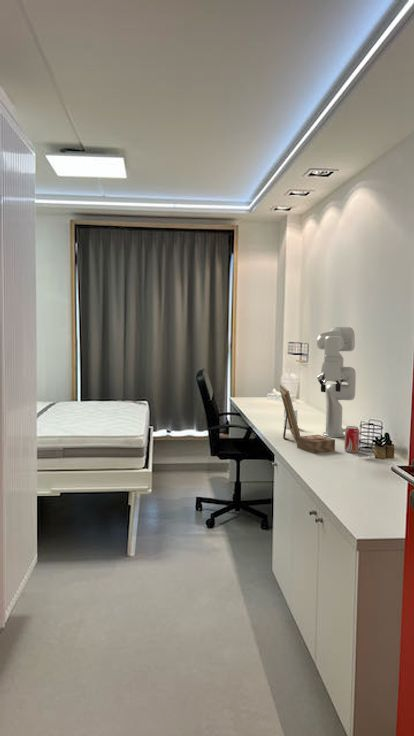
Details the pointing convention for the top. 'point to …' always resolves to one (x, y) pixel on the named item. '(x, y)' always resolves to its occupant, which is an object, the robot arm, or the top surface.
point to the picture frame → (289, 413)
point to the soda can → (351, 439)
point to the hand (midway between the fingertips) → (330, 391)
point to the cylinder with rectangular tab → (287, 419)
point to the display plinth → (316, 443)
